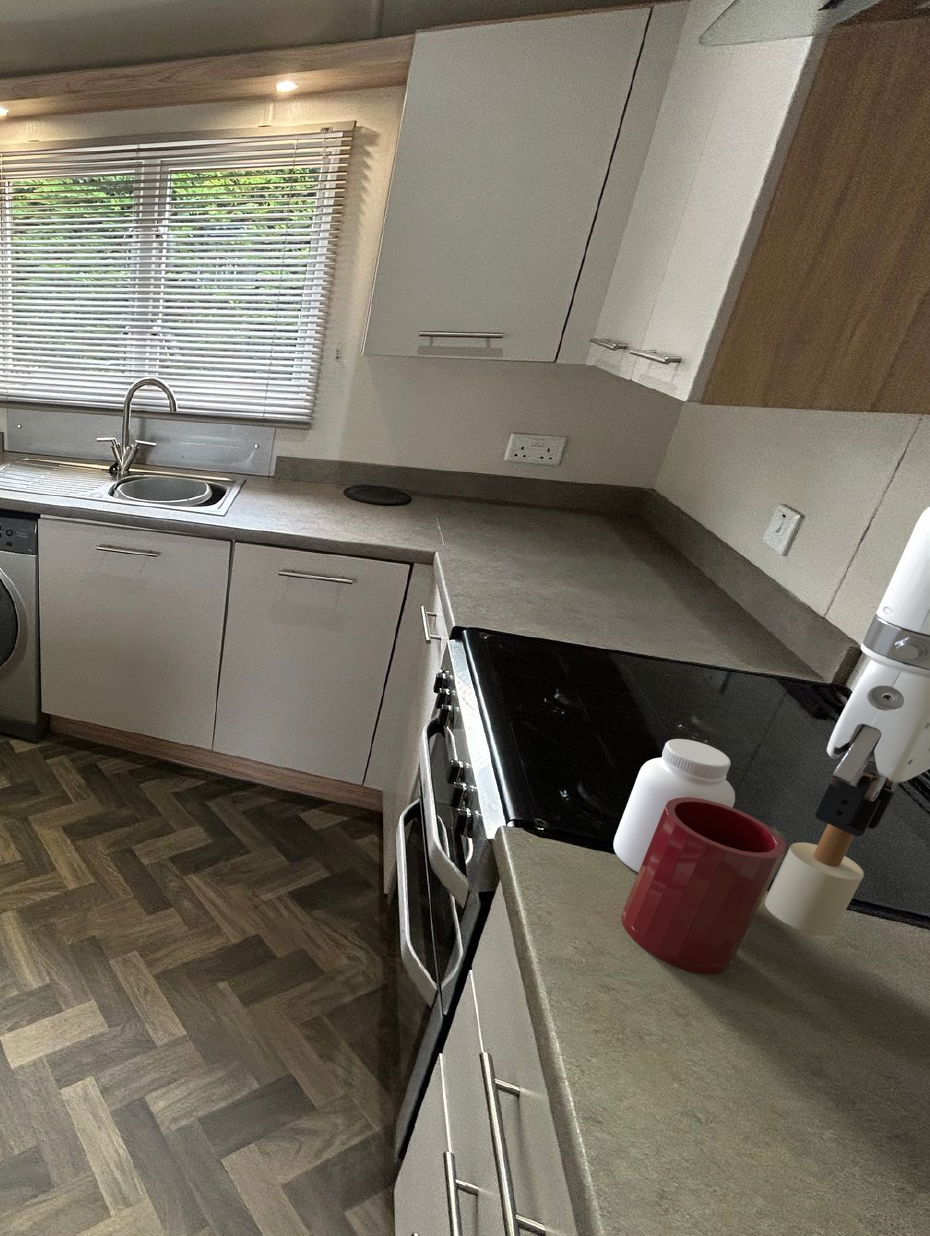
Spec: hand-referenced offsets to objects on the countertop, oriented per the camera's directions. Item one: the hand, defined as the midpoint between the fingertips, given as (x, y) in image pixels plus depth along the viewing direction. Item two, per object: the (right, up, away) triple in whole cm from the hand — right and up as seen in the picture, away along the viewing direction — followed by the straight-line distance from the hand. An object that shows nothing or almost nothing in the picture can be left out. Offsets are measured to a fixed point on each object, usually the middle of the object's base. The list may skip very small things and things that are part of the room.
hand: (845, 821), depth 67 cm
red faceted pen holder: (-12, -13, +4) cm, 19 cm away
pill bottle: (-6, -10, +14) cm, 18 cm away
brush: (0, -11, +4) cm, 12 cm away
